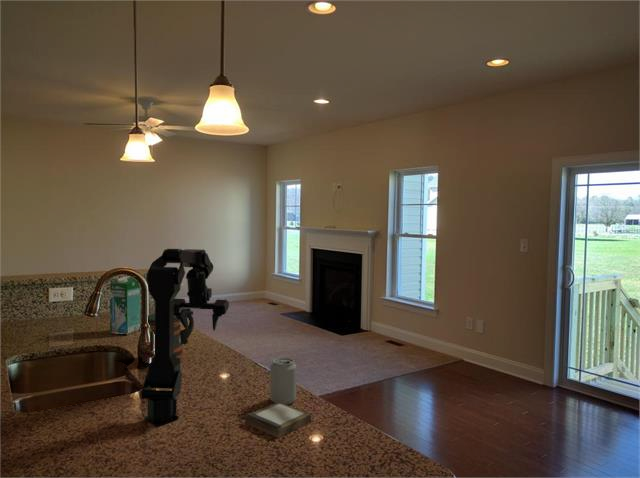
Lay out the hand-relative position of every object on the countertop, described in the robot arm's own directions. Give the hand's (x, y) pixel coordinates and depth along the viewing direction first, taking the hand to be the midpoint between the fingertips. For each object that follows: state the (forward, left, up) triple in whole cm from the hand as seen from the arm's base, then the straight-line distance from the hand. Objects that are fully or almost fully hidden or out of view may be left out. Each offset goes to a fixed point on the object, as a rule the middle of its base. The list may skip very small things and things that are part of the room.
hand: (200, 329), depth 155 cm
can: (+3, -36, -16) cm, 39 cm away
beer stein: (+3, +24, -16) cm, 29 cm away
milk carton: (+11, +71, -16) cm, 74 cm away
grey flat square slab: (-8, -45, -15) cm, 48 cm away
